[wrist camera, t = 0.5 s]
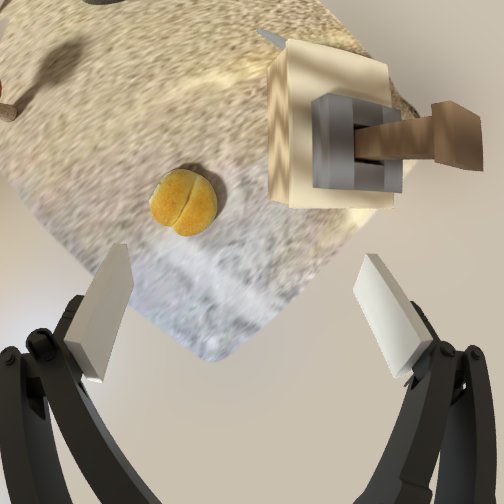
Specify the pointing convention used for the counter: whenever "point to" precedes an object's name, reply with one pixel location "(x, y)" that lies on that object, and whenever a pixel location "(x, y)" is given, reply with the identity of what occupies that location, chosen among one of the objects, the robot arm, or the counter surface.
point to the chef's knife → (273, 38)
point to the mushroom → (7, 110)
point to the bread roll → (184, 202)
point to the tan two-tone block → (327, 129)
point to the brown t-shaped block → (426, 138)
